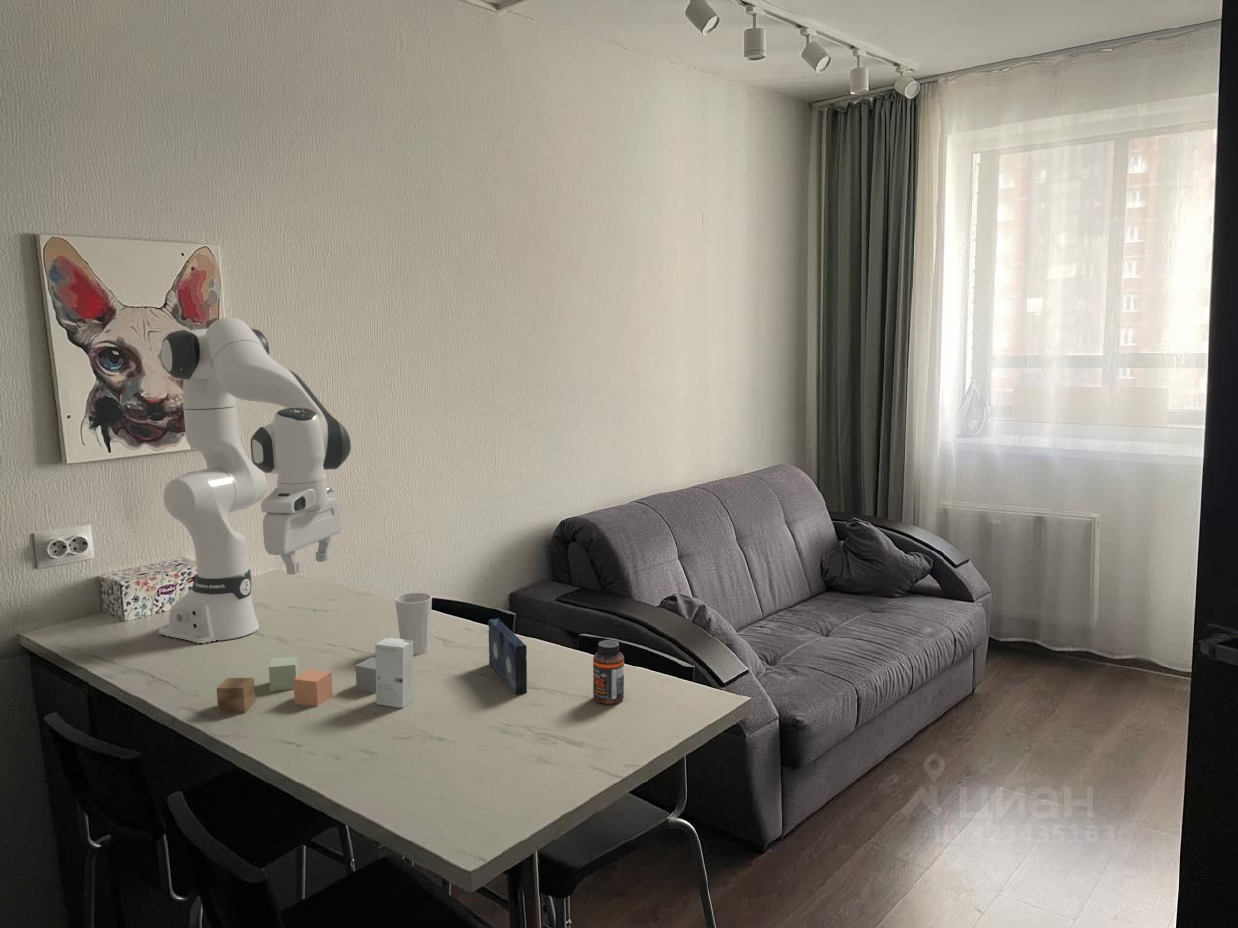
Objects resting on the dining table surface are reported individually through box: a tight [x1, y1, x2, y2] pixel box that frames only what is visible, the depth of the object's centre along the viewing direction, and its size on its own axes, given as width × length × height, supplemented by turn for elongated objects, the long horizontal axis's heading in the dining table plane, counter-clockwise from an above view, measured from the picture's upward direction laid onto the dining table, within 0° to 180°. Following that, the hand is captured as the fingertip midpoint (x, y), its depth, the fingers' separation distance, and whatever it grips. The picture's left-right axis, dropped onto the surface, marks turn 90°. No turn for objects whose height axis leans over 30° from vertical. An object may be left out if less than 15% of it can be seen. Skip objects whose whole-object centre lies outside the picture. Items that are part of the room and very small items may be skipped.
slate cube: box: [355, 656, 376, 694], centre depth 188 cm, size 5×5×5 cm
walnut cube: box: [216, 677, 256, 714], centre depth 179 cm, size 5×5×5 cm
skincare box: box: [374, 637, 414, 709], centre depth 180 cm, size 6×4×12 cm
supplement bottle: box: [592, 639, 625, 705], centre depth 181 cm, size 6×6×11 cm
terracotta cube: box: [293, 669, 333, 707], centre depth 182 cm, size 5×5×5 cm
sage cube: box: [268, 655, 299, 692], centre depth 189 cm, size 5×5×5 cm
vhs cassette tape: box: [488, 617, 528, 696], centre depth 192 cm, size 18×3×10 cm, turn 23°
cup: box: [394, 592, 433, 656], centre depth 208 cm, size 8×8×12 cm
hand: (308, 567), depth 179 cm, fingers open, 8 cm apart
